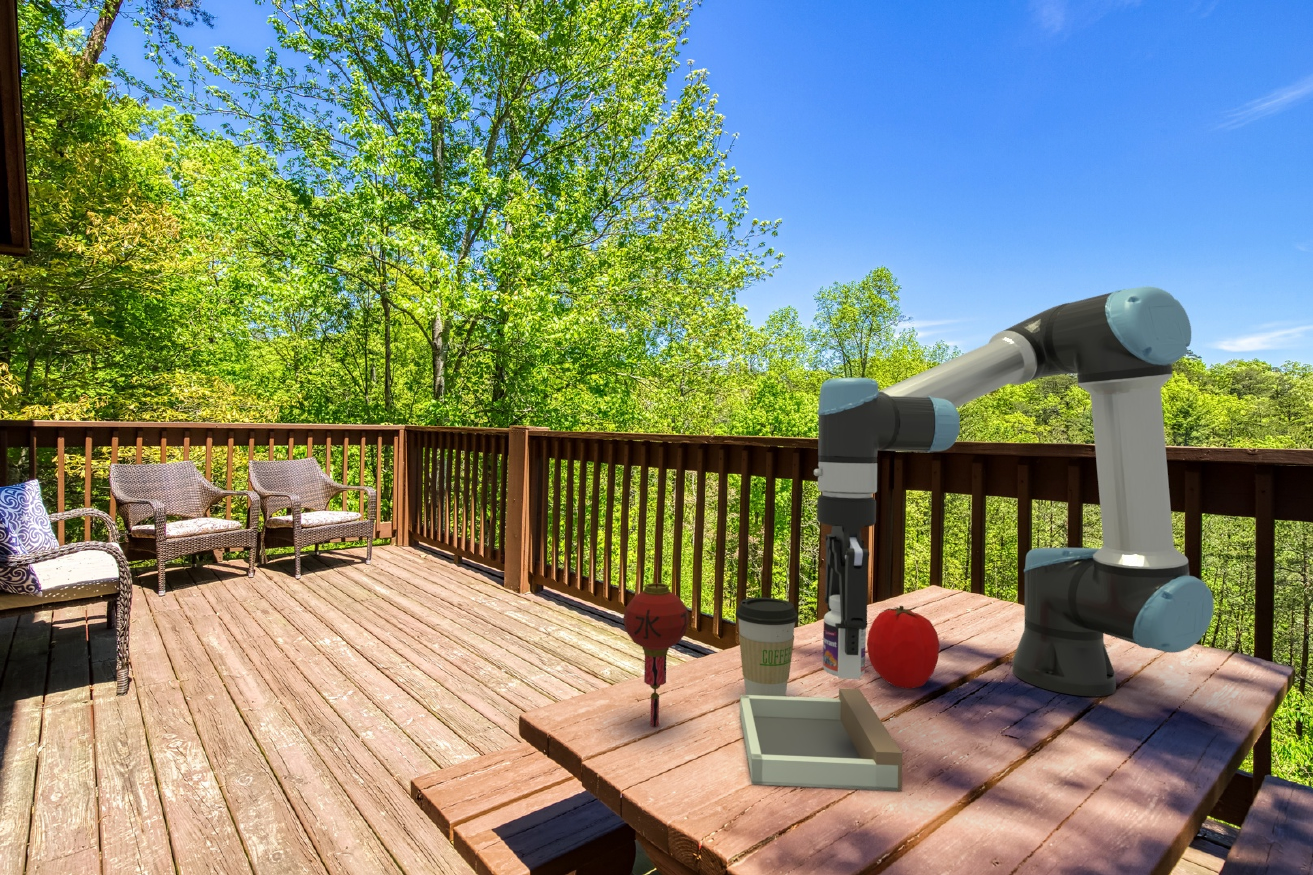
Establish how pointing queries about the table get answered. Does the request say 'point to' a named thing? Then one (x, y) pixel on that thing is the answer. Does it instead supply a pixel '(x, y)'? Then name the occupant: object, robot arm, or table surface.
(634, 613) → the lantern
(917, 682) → the tomato
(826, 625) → the pill bottle
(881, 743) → the tray
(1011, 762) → the table surface
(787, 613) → the coffee cup
